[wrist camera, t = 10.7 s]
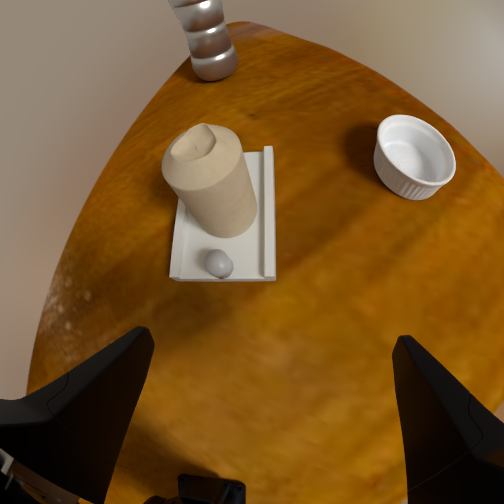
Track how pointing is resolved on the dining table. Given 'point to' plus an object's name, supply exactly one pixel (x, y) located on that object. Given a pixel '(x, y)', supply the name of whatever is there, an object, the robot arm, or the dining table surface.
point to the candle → (212, 179)
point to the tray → (230, 249)
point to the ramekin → (412, 157)
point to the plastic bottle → (207, 37)
